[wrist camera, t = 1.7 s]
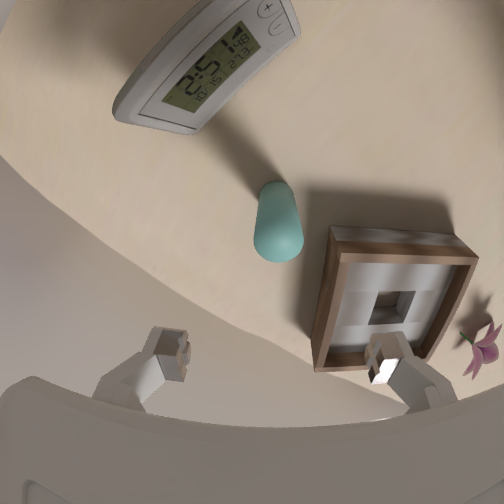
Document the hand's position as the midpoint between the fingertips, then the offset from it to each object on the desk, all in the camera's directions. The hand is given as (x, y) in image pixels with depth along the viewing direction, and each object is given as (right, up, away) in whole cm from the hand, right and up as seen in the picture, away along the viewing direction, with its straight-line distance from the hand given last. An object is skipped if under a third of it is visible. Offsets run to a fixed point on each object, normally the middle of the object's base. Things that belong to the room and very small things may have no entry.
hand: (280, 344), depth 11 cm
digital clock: (-4, +22, +11) cm, 25 cm away
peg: (+1, +10, +17) cm, 20 cm away
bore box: (+16, -1, +22) cm, 28 cm away
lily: (+41, -11, +26) cm, 50 cm away
